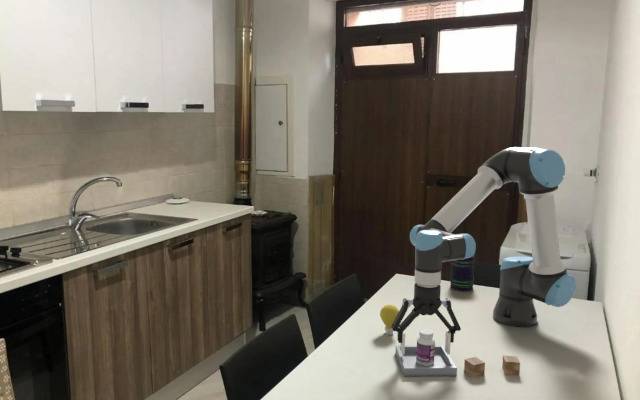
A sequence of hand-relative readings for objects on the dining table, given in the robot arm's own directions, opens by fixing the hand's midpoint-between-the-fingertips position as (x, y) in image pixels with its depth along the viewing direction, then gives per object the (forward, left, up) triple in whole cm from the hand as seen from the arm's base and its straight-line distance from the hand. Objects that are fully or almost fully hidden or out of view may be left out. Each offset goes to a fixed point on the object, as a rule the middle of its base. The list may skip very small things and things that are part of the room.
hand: (425, 352), depth 154 cm
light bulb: (+7, -23, -4) cm, 24 cm away
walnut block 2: (-24, +5, -4) cm, 25 cm away
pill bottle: (0, 0, -3) cm, 3 cm away
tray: (0, 0, -4) cm, 4 cm away
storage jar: (-32, -71, -4) cm, 78 cm away
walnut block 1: (-13, +6, -4) cm, 15 cm away
